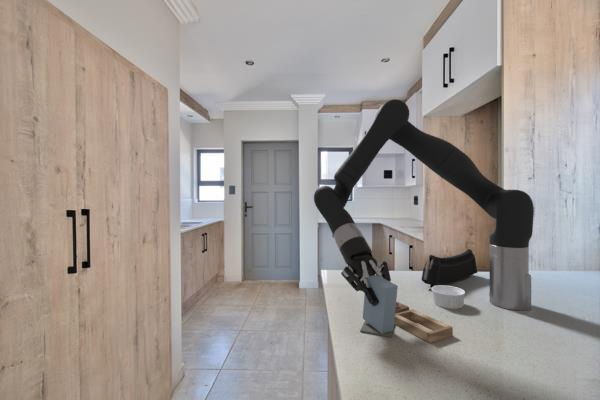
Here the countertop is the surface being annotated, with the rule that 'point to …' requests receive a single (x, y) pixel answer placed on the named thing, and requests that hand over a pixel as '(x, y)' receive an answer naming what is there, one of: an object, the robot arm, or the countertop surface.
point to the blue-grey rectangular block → (381, 305)
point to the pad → (373, 330)
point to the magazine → (449, 269)
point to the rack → (430, 336)
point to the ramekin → (448, 296)
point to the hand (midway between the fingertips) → (382, 302)
